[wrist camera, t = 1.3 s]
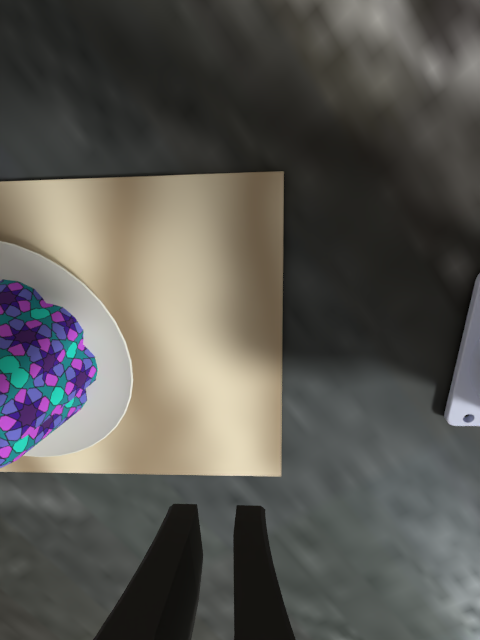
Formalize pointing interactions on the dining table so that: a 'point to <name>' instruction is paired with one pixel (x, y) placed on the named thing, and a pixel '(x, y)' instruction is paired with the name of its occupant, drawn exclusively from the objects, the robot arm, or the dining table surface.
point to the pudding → (56, 360)
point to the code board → (173, 311)
